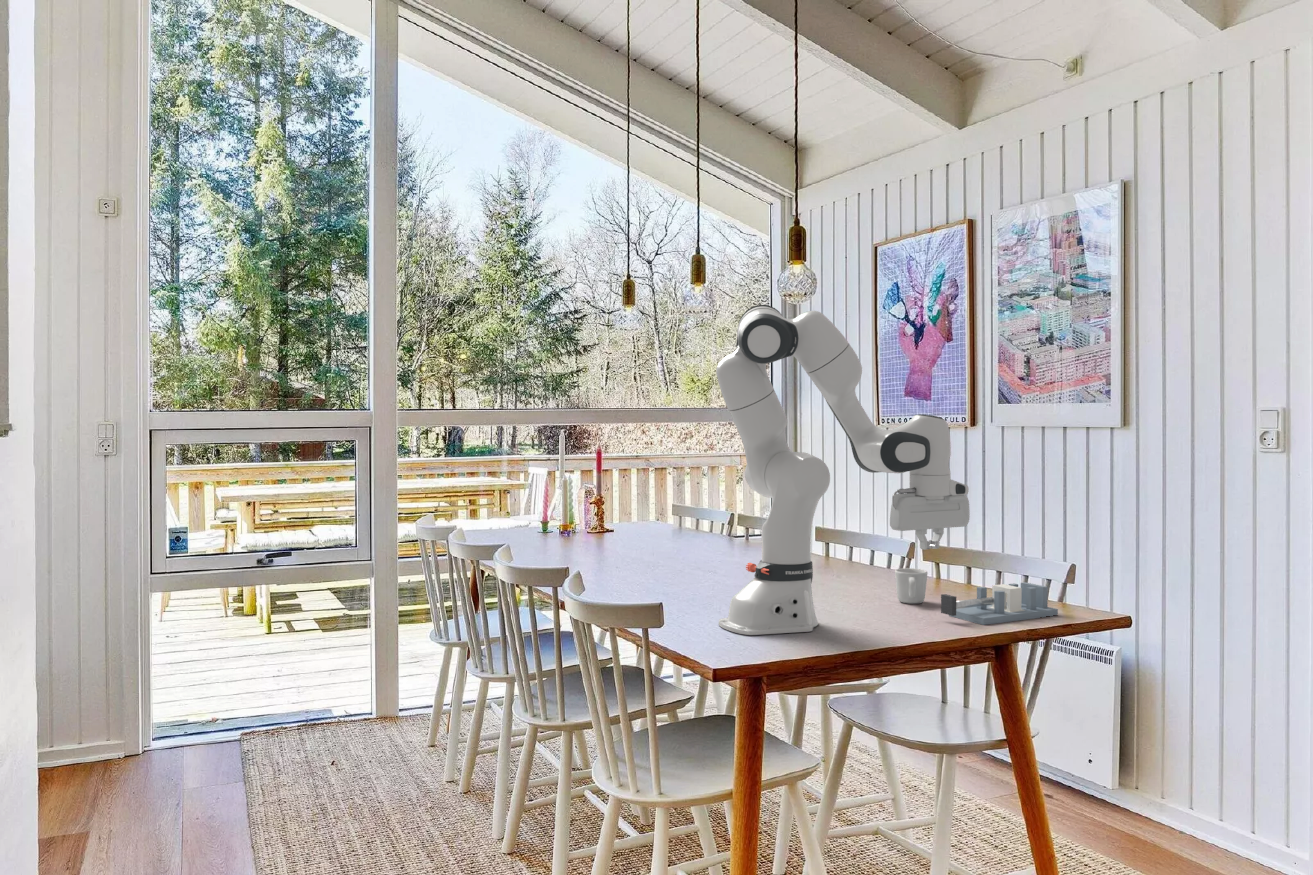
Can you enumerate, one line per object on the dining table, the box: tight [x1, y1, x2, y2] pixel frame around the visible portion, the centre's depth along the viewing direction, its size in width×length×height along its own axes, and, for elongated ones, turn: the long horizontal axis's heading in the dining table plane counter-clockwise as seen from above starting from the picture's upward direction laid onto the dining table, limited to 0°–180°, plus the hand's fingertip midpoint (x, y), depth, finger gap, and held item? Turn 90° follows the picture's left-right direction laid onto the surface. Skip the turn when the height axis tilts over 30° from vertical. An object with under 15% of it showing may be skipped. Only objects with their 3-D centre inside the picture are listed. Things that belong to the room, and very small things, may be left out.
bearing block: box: [948, 581, 1059, 626], centre depth 222 cm, size 23×11×6 cm, turn 115°
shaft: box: [940, 593, 994, 617], centre depth 217 cm, size 14×4×4 cm, turn 115°
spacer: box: [991, 583, 1022, 611], centre depth 222 cm, size 4×6×5 cm, turn 25°
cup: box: [894, 567, 928, 605], centre depth 237 cm, size 11×8×8 cm
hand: (929, 548), depth 212 cm, fingers closed
